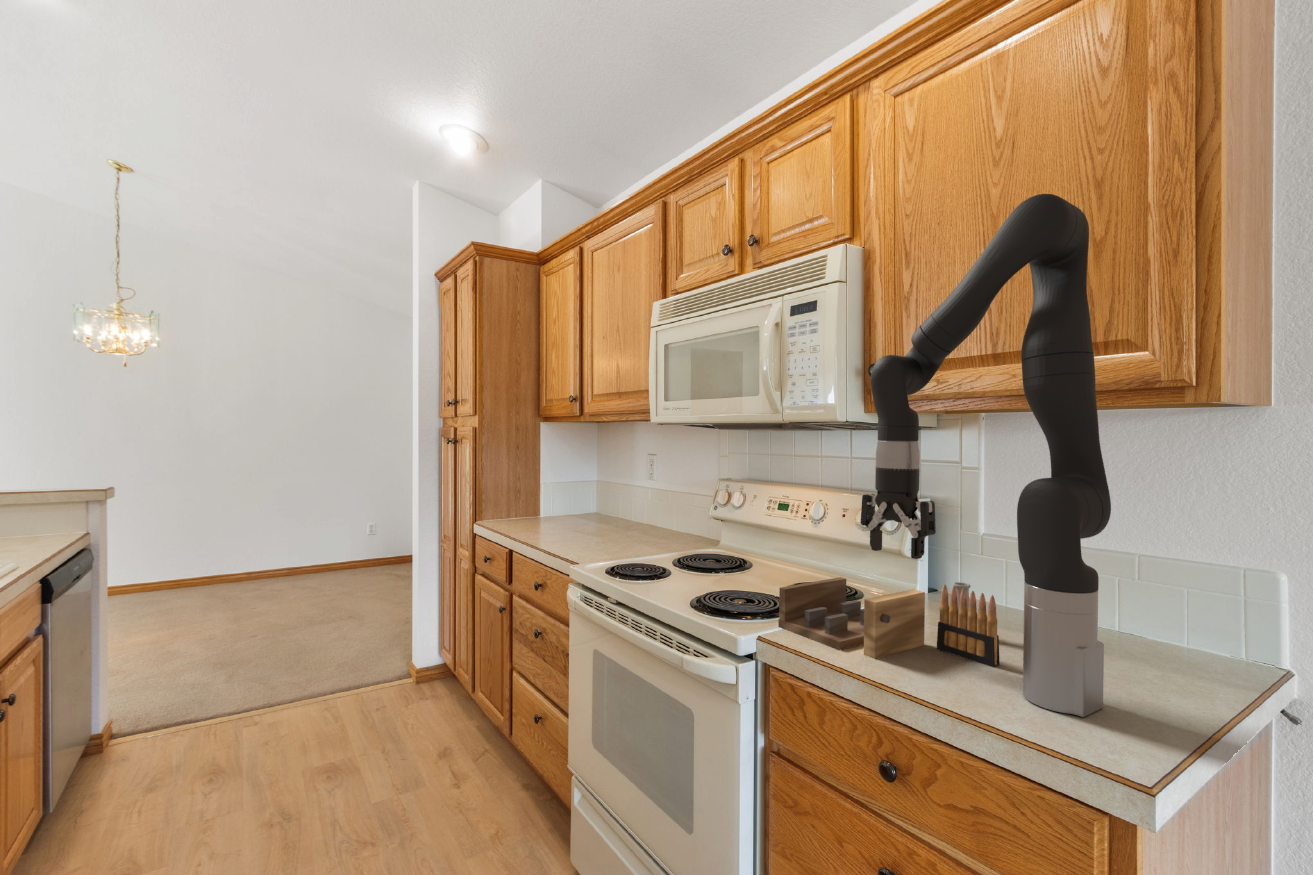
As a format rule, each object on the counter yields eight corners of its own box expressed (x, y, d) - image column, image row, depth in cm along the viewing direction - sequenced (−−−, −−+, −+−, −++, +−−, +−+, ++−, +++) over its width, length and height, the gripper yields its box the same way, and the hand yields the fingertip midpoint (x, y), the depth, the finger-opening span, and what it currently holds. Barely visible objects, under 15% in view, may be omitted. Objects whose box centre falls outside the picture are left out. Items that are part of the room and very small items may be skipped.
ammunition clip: (999, 665, 107) (1000, 595, 107) (993, 667, 106) (994, 597, 106) (942, 647, 116) (943, 582, 116) (936, 648, 115) (937, 583, 115)
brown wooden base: (902, 633, 124) (903, 593, 124) (839, 650, 114) (839, 606, 114) (839, 613, 137) (839, 576, 137) (778, 626, 128) (778, 587, 128)
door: (929, 646, 116) (929, 593, 116) (879, 661, 109) (880, 603, 109) (913, 641, 119) (913, 589, 119) (863, 654, 112) (864, 599, 112)
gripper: (945, 467, 110) (944, 559, 110) (878, 463, 122) (877, 545, 122) (919, 468, 106) (917, 563, 106) (852, 464, 118) (851, 549, 119)
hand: (895, 554), depth 114 cm, fingers open, 8 cm apart
